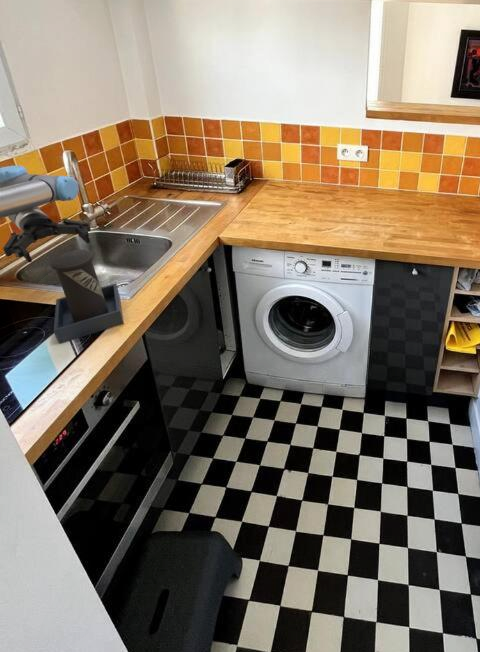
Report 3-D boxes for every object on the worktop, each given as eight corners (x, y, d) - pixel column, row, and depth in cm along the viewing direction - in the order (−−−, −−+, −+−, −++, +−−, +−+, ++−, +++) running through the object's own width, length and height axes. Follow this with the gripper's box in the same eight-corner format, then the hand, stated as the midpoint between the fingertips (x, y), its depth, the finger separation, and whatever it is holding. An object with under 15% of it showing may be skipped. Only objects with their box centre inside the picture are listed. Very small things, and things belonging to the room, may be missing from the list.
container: (97, 327, 105) (77, 265, 96) (64, 326, 105) (41, 264, 96) (116, 306, 113) (99, 247, 104) (85, 305, 113) (65, 246, 104)
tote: (58, 344, 100) (53, 330, 98) (61, 311, 111) (56, 299, 109) (123, 323, 107) (120, 310, 105) (119, 295, 118) (116, 283, 116)
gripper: (84, 221, 129) (112, 242, 117) (-14, 250, 111) (6, 279, 99) (78, 200, 125) (105, 220, 114) (-25, 227, 107) (-5, 254, 96)
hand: (59, 247), depth 106 cm, fingers open, 13 cm apart
